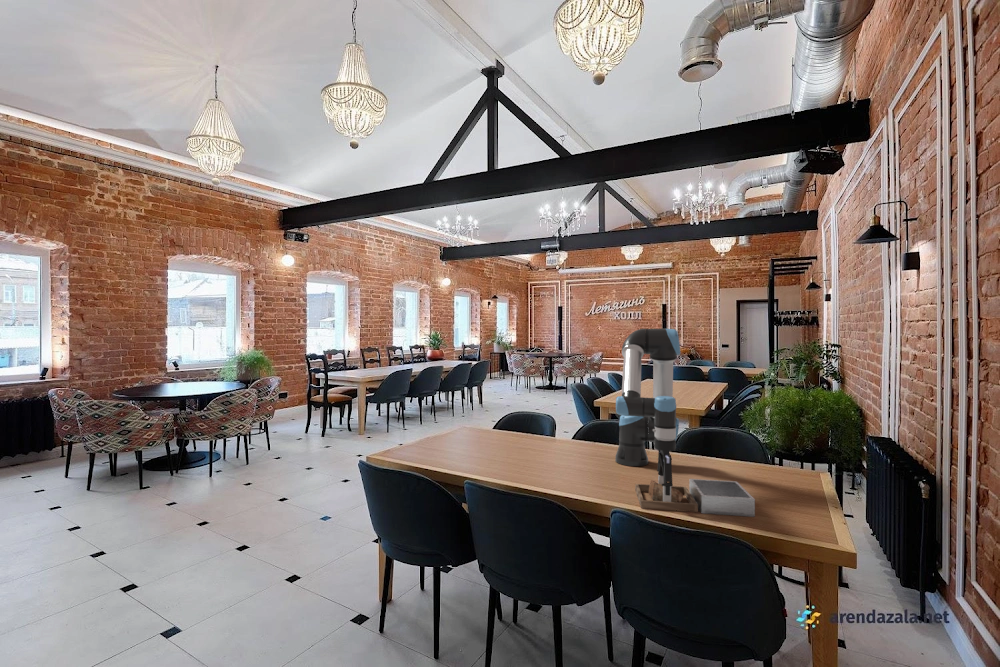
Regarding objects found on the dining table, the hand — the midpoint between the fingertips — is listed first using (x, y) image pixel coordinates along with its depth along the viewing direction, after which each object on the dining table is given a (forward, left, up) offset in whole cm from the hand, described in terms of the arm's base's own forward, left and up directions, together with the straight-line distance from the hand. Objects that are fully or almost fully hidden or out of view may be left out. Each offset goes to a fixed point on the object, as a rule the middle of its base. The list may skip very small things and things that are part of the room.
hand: (664, 498), depth 174 cm
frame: (0, 0, -1) cm, 1 cm away
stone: (0, +1, -1) cm, 1 cm away
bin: (+1, +19, -1) cm, 19 cm away
